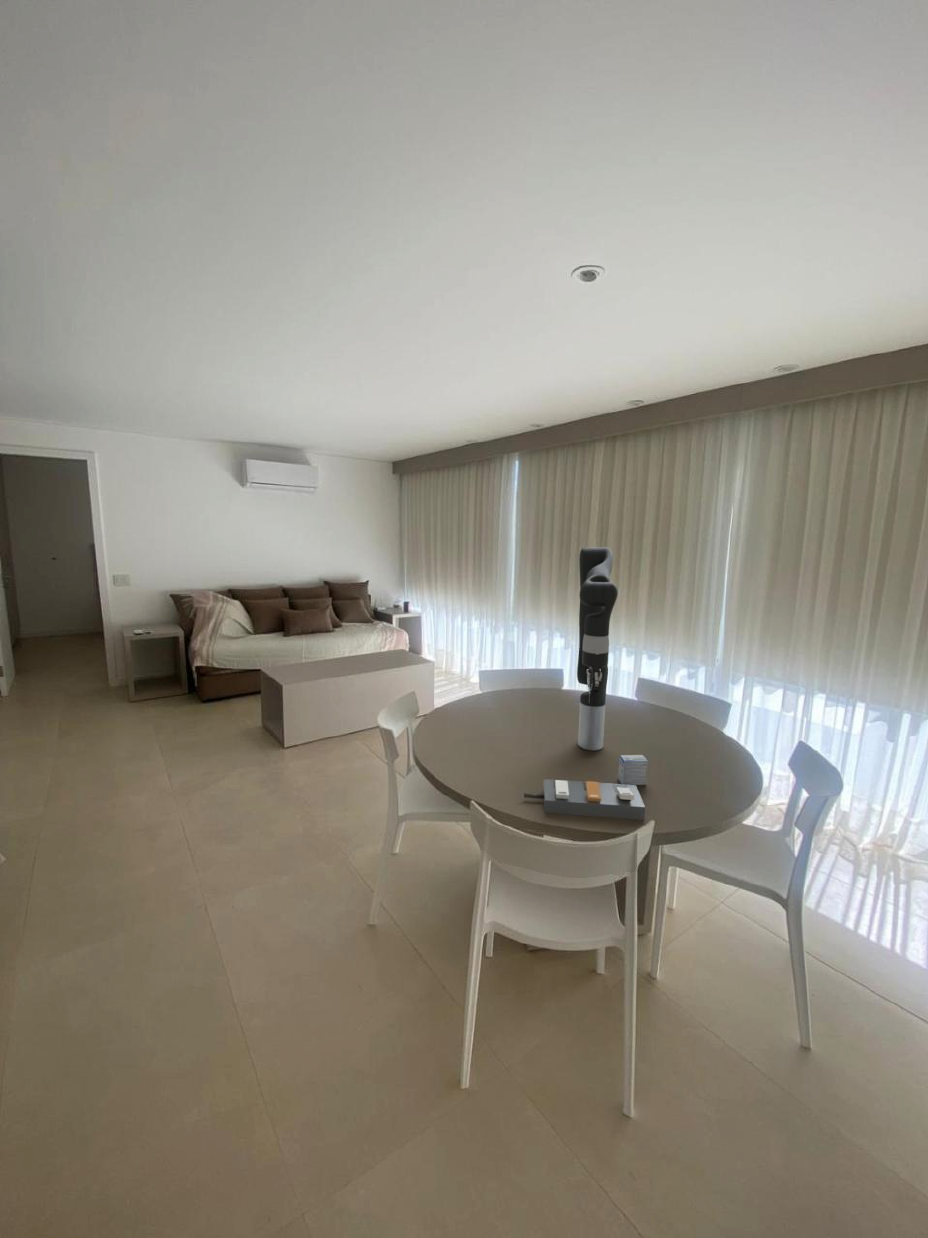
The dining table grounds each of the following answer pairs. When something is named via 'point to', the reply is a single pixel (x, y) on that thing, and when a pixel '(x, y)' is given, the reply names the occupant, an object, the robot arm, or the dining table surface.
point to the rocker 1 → (562, 789)
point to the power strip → (581, 806)
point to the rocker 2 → (593, 791)
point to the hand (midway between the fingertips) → (592, 704)
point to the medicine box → (633, 769)
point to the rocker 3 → (625, 793)
